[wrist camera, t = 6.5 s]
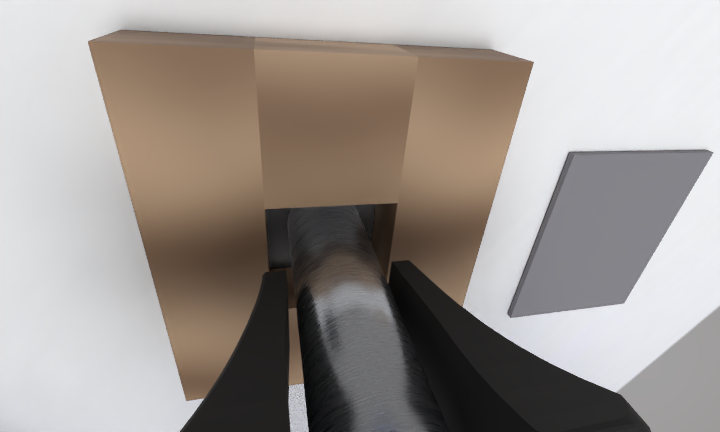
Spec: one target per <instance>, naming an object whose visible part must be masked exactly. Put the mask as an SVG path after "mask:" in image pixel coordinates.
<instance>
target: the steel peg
mask: <svg viewBox="0 0 720 432" xmlns="http://www.w3.org/2000/svg"><path fill="white" fill-rule="evenodd" d="M287 225H288V235H289V245H290V254H291V264H292V274H293V283H294V293H295V303H296V312H297V322H298V331H299V341H300V351H301V360H302V370H303V380H304V389H305V399H306V409H307V418H308V428H309V432H449V429H448V427H447V425H446V422H445V420H444V417H443V415H442V412H441V410H440V408H439V405H438V403H437V400H436V398H435V396H434V393H433V391H432V388H431V386H430V384H429V381H428V379H427V376H426V374H425V372H424V369H423V367H422V364H421V362H420V360H419V357H418V355H417V352H416V350H415V348H414V345H413V343H412V340H411V338H410V336H409V333H408V331H407V328H406V326H405V324H404V321H403V319H402V316H401V314H400V312H399V309H398V307H397V304H396V302H395V299H394V297H393V295H392V292H391V290H390V287H389V285H388V283H387V280H386V278H385V275H384V273H383V271H382V268H381V266H380V263H379V261H378V259H377V256H376V254H375V251H374V249H373V247H372V244H371V242H370V239H369V237H368V235H367V232H366V230H365V227H364V225H363V223H362V220H361V218H360V215H359V213H358V211H357V208H356V206H355V205H344V206H322V207H301V208H291V210H290V212H289V215H288V220H287Z"/></svg>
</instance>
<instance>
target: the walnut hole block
mask: <svg viewBox="0 0 720 432" xmlns="http://www.w3.org/2000/svg"><path fill="white" fill-rule="evenodd" d="M88 44H89V48H90V51H91V55H92V59H93V62H94V66H95V70H96V73H97V77H98V81H99V84H100V88H101V91H102V95H103V99H104V102H105V106H106V110H107V113H108V117H109V121H110V124H111V128H112V132H113V135H114V139H115V143H116V146H117V150H118V153H119V157H120V161H121V164H122V168H123V172H124V175H125V179H126V183H127V186H128V190H129V194H130V197H131V201H132V205H133V208H134V212H135V215H136V219H137V223H138V226H139V230H140V234H141V237H142V241H143V245H144V248H145V252H146V256H147V259H148V263H149V267H150V270H151V274H152V277H153V281H154V285H155V288H156V292H157V296H158V299H159V303H160V307H161V310H162V314H163V318H164V321H165V325H166V329H167V332H168V336H169V339H170V343H171V347H172V350H173V354H174V358H175V361H176V365H177V369H178V372H179V376H180V380H181V383H182V387H183V391H184V394H185V398H186V401H189V400H196V399H203V398H205V397H206V396H207V394H208V393H209V391H210V389H211V388H212V386H213V385H214V383H215V382H216V380H217V379H218V377H219V376H220V374H221V372H222V371H223V369H224V367H225V366H226V364H227V362H228V360H229V359H230V357H231V355H232V353H233V351H234V349H235V348H236V346H237V344H238V341H239V339H240V337H241V335H242V333H243V331H244V329H245V327H246V325H247V323H248V320H249V318H250V315H251V313H252V310H253V308H254V305H255V303H256V300H257V297H258V294H259V290H260V287H261V282H262V276H263V274H264V273H265V272H270V271H283V270H286V275H287V284H288V310H289V340H290V357H289V385H296V384H302V383H304V380H303V370H302V360H301V351H300V341H299V331H298V322H297V312H296V303H295V293H294V283H293V274H292V267H291V268H279V269H270V261H269V245H268V230H267V214H266V209H279V208H301V207H322V206H344V205H366V204H376V205H375V214H374V223H373V233H372V242H371V244H372V247H373V249H374V251H375V254H376V256H377V259H378V261H379V263H380V266H381V268H382V271H383V273H384V275H385V278H386V280H387V283H389V276H390V269H391V263H392V261H404V260H409V261H410V262H412V263H413V264H414V265H415V266H416V267H417V268H418V269H419V270H420V271H421V272H423V273H424V274H425V275H426V276H427V277H428V278H429V279H430V280H431V281H432V282H434V283H435V284H436V285H437V286H438V287H439V288H440V289H441V290H443V291H444V292H445V293H446V294H447V295H448V296H449V297H451V298H452V299H453V300H454V301H455V302H457V303H458V304H459V305H460V306H463V302H464V299H465V296H466V292H467V289H468V285H469V282H470V278H471V275H472V272H473V268H474V265H475V261H476V258H477V255H478V251H479V248H480V244H481V241H482V237H483V234H484V231H485V227H486V224H487V220H488V217H489V213H490V210H491V207H492V203H493V200H494V196H495V193H496V190H497V186H498V183H499V179H500V176H501V172H502V169H503V166H504V162H505V159H506V155H507V152H508V148H509V145H510V142H511V138H512V135H513V131H514V128H515V125H516V121H517V118H518V114H519V111H520V107H521V104H522V101H523V97H524V94H525V90H526V87H527V83H528V80H529V77H530V73H531V70H532V66H533V63H534V62H532V61H528V60H525V59H522V58H518V57H515V56H511V55H508V54H505V53H501V52H498V51H495V50H487V49H468V48H450V47H431V46H412V45H393V44H374V43H356V42H337V41H318V40H299V39H281V38H262V37H243V36H224V35H206V34H187V33H168V32H149V31H130V30H119V31H116V32H114V33H111V34H108V35H105V36H102V37H99V38H96V39H93V40H91V41H88Z"/></svg>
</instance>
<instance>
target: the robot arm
mask: <svg viewBox="0 0 720 432" xmlns="http://www.w3.org/2000/svg"><path fill="white" fill-rule="evenodd" d="M388 285H389V287H390V290H391V292H392V295H393V297H394V299H395V302H396V304H397V307H398V309H399V312H400V314H401V316H402V319H403V321H404V324H405V326H406V328H407V331H408V333H409V336H410V338H411V340H412V343H413V345H414V348H415V350H416V352H417V355H418V357H419V360H420V362H421V364H422V367H423V369H424V372H425V374H426V376H427V379H428V381H429V384H430V386H431V388H432V391H433V393H434V396H435V398H436V400H437V403H438V405H439V408H440V410H441V412H442V415H443V417H444V420H445V422H446V425H447V427H448V429H449V432H651V430H650V428H649V426H648V425H647V424H646V423H645V422H644V421H643V419H642V418H641V417H640V416H639V415H638V414H637V413H636V411H635V410H634V409H633V408H632V407H631V406H630V404H629V403H627V401H626V400H625V399H624V398H623V397H622V396H621V395H620V394H617V393H615V392H613V391H610V390H608V389H606V388H603V387H601V386H598V385H596V384H594V383H591V382H589V381H586V380H584V379H582V378H579V377H577V376H575V375H573V374H571V373H569V372H567V371H565V370H563V369H560V368H558V367H556V366H554V365H552V364H550V363H548V362H547V361H545V360H543V359H541V358H539V357H537V356H535V355H534V354H532V353H530V352H528V351H527V350H525V349H523V348H521V347H519V346H518V345H516V344H514V343H513V342H511V341H510V340H508V339H506V338H505V337H503V336H502V335H500V334H499V333H497V332H496V331H494V330H493V329H491V328H490V327H488V326H487V325H485V324H484V323H483V322H481V321H480V320H478V319H477V318H476V317H475V316H473V315H472V314H471V313H469V312H468V311H467V310H465V309H464V308H463V307H462V306H460V305H459V304H458V303H457V302H455V301H454V300H453V299H452V298H451V297H449V296H448V295H447V294H446V293H445V292H444V291H443V290H441V289H440V288H439V287H438V286H437V285H436V284H435V283H434V282H432V281H431V280H430V279H429V278H428V277H427V276H426V275H425V274H424V273H423V272H421V271H420V270H419V269H418V268H417V267H416V266H415V265H414V264H413V263H412V262H410V261H409V260H404V261H392V263H391V269H390V276H389V283H388ZM289 357H290V340H289V310H288V284H287V275H286V270H283V271H270V272H265V273H264V274H263V276H262V282H261V287H260V290H259V294H258V297H257V300H256V303H255V305H254V308H253V310H252V313H251V315H250V318H249V320H248V323H247V325H246V327H245V329H244V331H243V333H242V335H241V337H240V339H239V341H238V344H237V346H236V348H235V349H234V351H233V353H232V355H231V357H230V359H229V360H228V362H227V364H226V366H225V367H224V369H223V371H222V372H221V374H220V376H219V377H218V379H217V380H216V382H215V383H214V385H213V386H212V388H211V389H210V391H209V393H208V394H207V396H206V397H205V399H204V400H203V401H202V403H201V404H200V406H199V407H198V408H197V410H196V411H195V413H194V414H193V415H192V417H191V418H190V419H189V420H188V422H187V423H186V424H185V426H184V427H183V428H182V430H181V431H180V432H290V420H289V406H288V395H289Z"/></svg>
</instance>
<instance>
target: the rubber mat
mask: <svg viewBox="0 0 720 432" xmlns="http://www.w3.org/2000/svg"><path fill="white" fill-rule="evenodd" d="M712 154H713V152H711V151H708V150H683V151H621V152H570V153H569V155H568V158H567V161H566V163H565V166H564V168H563V171H562V174H561V176H560V179H559V182H558V184H557V187H556V189H555V192H554V195H553V197H552V200H551V202H550V205H549V208H548V210H547V213H546V215H545V218H544V221H543V223H542V226H541V229H540V231H539V234H538V236H537V239H536V242H535V244H534V247H533V249H532V252H531V255H530V257H529V260H528V262H527V265H526V268H525V270H524V273H523V276H522V278H521V281H520V283H519V286H518V289H517V291H516V294H515V296H514V299H513V302H512V304H511V307H510V309H509V312H508V315H509V316H510V318H513V317H521V316H529V315H537V314H545V313H552V312H560V311H568V310H576V309H584V308H592V307H600V306H607V305H615V304H623V303H624V302H625V301H626V299H627V297H628V296H629V294H630V292H631V291H632V289H633V287H634V286H635V284H636V282H637V281H638V279H639V277H640V275H641V274H642V272H643V270H644V269H645V267H646V265H647V264H648V262H649V260H650V259H651V257H652V255H653V253H654V252H655V250H656V248H657V247H658V245H659V243H660V242H661V240H662V238H663V237H664V235H665V233H666V232H667V230H668V228H669V226H670V225H671V223H672V221H673V220H674V218H675V216H676V215H677V213H678V211H679V210H680V208H681V206H682V205H683V203H684V201H685V199H686V198H687V196H688V194H689V193H690V191H691V189H692V188H693V186H694V184H695V183H696V181H697V179H698V178H699V176H700V174H701V172H702V171H703V169H704V167H705V166H706V164H707V162H708V161H709V159H710V157H711V156H712Z"/></svg>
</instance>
